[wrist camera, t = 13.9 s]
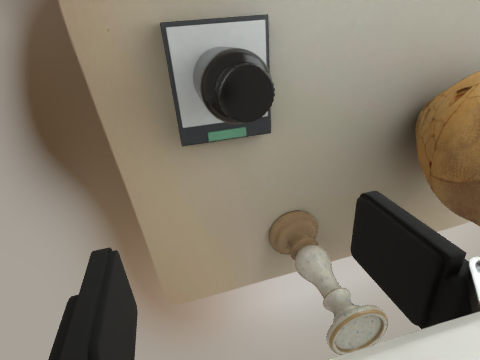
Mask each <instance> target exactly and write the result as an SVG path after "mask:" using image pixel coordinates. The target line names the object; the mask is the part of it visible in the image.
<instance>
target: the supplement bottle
mask: <svg viewBox="0 0 480 360" xmlns="http://www.w3.org/2000/svg"><path fill="white" fill-rule="evenodd" d="M193 84H194V88H195V90H196V92H197V94H198V96H199V97H200V99H201V100H202V102H203V103H204V105H205V106H206V108H207V109H208V111H209V112H210V113H211V114H212V115H213V116H215V117H216V118H217V119H219V120H221V121H223V122H226V123H230V124H241V123H247V122H253V121H257V120H258V119H260V118H262V116H264V115H265V114H266V112H268V111H269V108H270V107H271V106H272V102H273V101H274V99H273V97H274V95H275V94H274V90H275V89H274V87H273V86H274V84H273V82H272V78H271V75H270V72H269V70H268V67H267V66H266V64H265V63H264V61H263V60H262V59H261V58H260V57H259V56H258V55H256V54H255V53H253V52H251V51H249V50H246V49H242V48H234V47H224V46H223V47H214V48H211V49H209V50H207V51H206V52H205V53H203V54H202V55H201V56H200V58H199V59H198V60H197V62H196V64H195V67H194V71H193Z"/></svg>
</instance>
